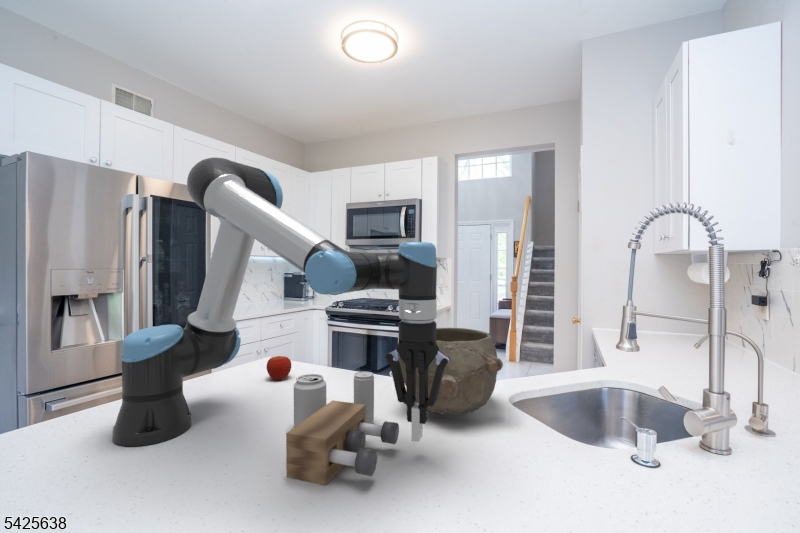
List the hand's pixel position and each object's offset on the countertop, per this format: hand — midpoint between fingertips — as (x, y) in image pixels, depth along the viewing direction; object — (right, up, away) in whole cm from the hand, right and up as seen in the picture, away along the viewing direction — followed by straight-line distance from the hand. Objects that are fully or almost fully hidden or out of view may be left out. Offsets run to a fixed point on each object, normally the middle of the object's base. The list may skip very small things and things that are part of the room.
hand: (417, 438), depth 76 cm
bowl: (+9, -4, +25) cm, 27 cm away
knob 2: (-13, -2, -8) cm, 16 cm away
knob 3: (-9, -2, +3) cm, 10 cm away
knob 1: (-16, -2, -1) cm, 16 cm away
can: (-24, -4, +13) cm, 28 cm away
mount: (-17, -4, 0) cm, 18 cm away
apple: (-43, -3, +50) cm, 67 cm away
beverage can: (-12, -4, +15) cm, 20 cm away
